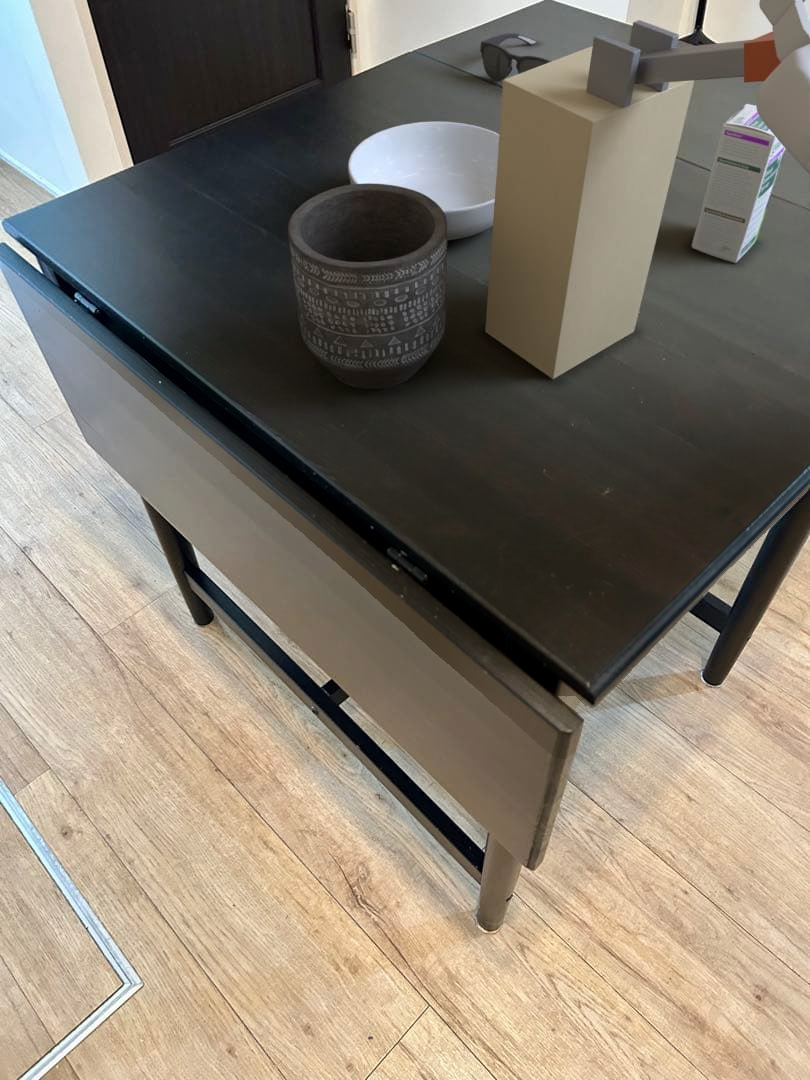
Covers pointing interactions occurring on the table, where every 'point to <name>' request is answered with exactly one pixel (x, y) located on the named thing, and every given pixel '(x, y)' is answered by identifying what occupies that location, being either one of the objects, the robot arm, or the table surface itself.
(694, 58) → the lever
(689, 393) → the table surface
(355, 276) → the planter
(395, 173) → the serving bowl
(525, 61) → the sunglasses
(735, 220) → the syrup box
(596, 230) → the lever stand
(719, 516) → the table surface
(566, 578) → the table surface
